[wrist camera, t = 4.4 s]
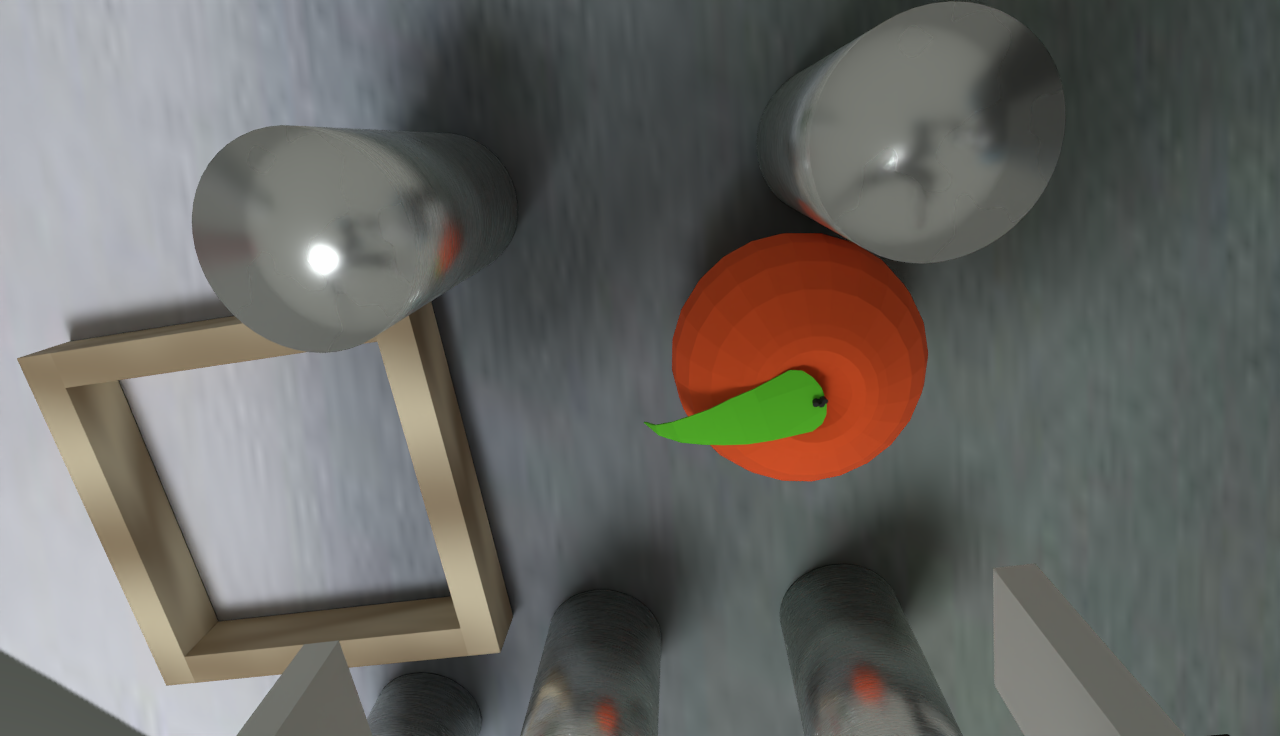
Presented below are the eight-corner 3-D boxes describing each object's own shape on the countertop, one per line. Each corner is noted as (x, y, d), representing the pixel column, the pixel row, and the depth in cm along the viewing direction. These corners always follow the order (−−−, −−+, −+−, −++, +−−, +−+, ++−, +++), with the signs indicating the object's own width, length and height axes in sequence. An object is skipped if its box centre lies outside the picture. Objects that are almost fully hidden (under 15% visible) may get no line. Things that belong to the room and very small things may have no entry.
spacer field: (189, 177, 22) (-120, 198, 14) (901, 49, 20) (1068, -22, 11) (392, 760, 29) (275, 1013, 21) (931, 715, 27) (1047, 979, 19)
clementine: (688, 459, 24) (690, 581, 18) (610, 279, 22) (580, 338, 16) (911, 382, 23) (1007, 482, 16) (849, 183, 21) (927, 202, 14)
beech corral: (69, 341, 24) (17, 358, 22) (427, 285, 23) (404, 298, 21) (201, 648, 28) (166, 685, 26) (513, 616, 27) (500, 652, 25)
